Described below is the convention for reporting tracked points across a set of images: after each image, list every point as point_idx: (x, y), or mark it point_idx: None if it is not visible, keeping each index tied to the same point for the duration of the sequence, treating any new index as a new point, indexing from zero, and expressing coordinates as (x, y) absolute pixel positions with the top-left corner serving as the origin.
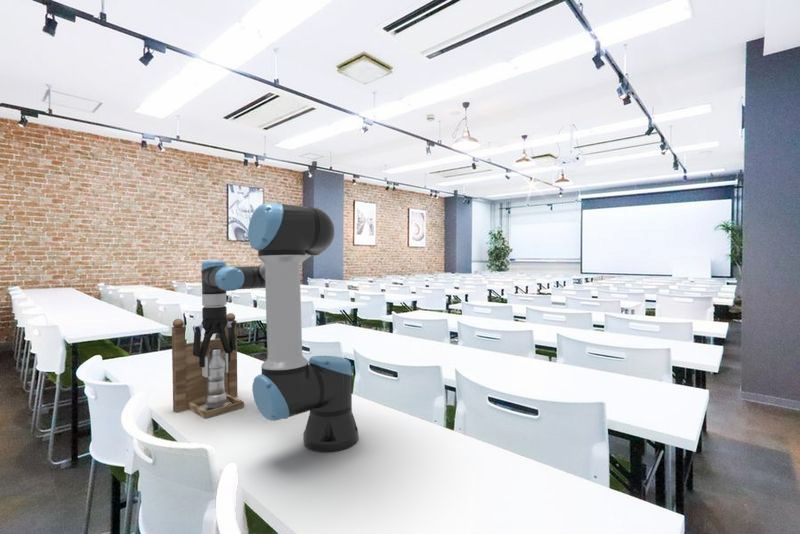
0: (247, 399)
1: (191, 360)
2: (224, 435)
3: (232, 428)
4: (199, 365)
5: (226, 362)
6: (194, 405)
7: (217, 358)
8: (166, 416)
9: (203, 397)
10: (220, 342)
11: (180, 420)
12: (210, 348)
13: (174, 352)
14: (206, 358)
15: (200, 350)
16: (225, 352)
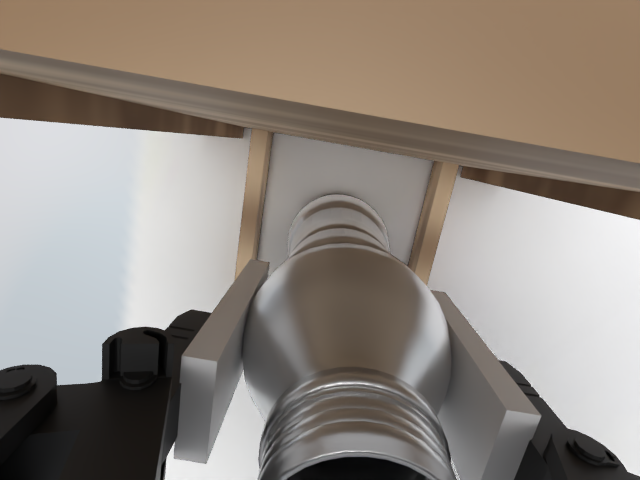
0: (490, 264)
1: (168, 105)
2: (198, 469)
3: (244, 450)
4: (179, 316)
5: (439, 412)
6: (250, 192)
7: (329, 470)
8: (149, 132)
9: (333, 142)
10: None
11: (167, 233)
12: (321, 458)
13: None
14: (191, 450)
15: (73, 465)
16: (528, 453)
